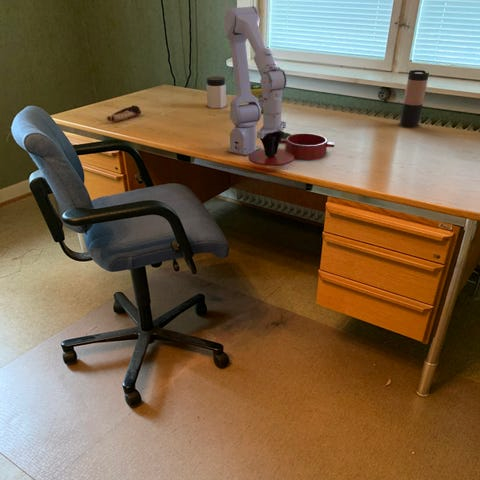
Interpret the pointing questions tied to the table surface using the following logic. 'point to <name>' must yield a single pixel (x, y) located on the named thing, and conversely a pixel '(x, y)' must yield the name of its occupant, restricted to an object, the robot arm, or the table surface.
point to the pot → (307, 146)
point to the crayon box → (258, 95)
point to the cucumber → (286, 135)
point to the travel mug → (413, 98)
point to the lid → (271, 158)
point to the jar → (216, 92)
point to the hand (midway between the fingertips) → (271, 155)
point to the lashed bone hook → (125, 114)
